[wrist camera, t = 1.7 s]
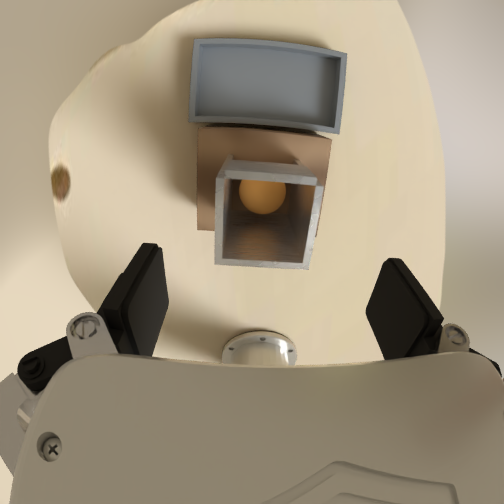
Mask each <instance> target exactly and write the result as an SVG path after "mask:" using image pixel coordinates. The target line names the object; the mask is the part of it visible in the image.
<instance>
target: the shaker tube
mask: <svg viewBox="0 0 504 504" xmlns="http://www.w3.org/2000/svg"><path fill="white" fill-rule="evenodd" d="M233 179H243V180H258V181H271V182H283V183H291V188H290V196H289V204H288V212H287V214H282V213H268V214H257V213H254V212H252V211H239V210H231V202H232V181H233ZM323 189H324V186H323V185H322V184H321V183H320V182H319V181H318V180H317V177H316V176H315V175H314V174H313V173H312V172H311V171H310V170H309V169H308V167H307V166H305V165H304V164H303V163H302V162H301V161H300V160H297V159H294V163H293V164H283V163H272V162H259V161H244V160H234V154H228V156H227V158H226V160H225V161H224V163H223V165H222V167H221V169H220V171H219V173H218V175H217V177H216V192H215V265H231V266H248V267H265V268H283V269H302V270H309V265H310V260H311V255H312V250H313V245H314V240H315V235H316V229H317V224H318V218H319V213H320V207H321V201H322V195H323Z"/></svg>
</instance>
